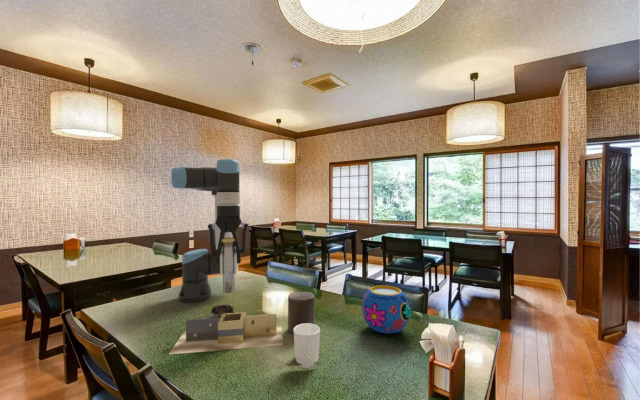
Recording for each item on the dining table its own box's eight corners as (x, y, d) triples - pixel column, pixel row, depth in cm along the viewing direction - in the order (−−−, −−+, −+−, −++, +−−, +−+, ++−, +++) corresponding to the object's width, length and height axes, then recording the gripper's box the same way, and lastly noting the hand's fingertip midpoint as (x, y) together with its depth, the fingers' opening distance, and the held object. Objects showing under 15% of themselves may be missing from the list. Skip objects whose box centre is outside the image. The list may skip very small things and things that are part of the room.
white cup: (293, 355, 90) (293, 323, 90) (319, 354, 91) (318, 322, 91) (293, 370, 83) (293, 335, 83) (321, 369, 83) (321, 334, 83)
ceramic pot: (411, 345, 96) (411, 300, 96) (358, 338, 102) (357, 295, 101) (411, 323, 113) (410, 284, 113) (365, 318, 118) (365, 281, 118)
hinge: (190, 335, 102) (189, 315, 102) (276, 329, 106) (276, 309, 106) (182, 347, 94) (182, 325, 94) (276, 339, 98) (276, 318, 98)
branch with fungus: (198, 334, 106) (198, 319, 106) (187, 330, 109) (187, 315, 109) (236, 317, 121) (235, 303, 121) (225, 313, 124) (224, 300, 124)
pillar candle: (304, 342, 99) (304, 298, 99) (282, 335, 104) (282, 293, 104) (319, 331, 107) (319, 290, 107) (298, 325, 112) (298, 286, 112)
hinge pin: (222, 289, 102) (222, 237, 102) (238, 288, 103) (238, 236, 102) (219, 294, 96) (218, 239, 96) (236, 293, 97) (235, 238, 97)
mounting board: (184, 334, 105) (184, 330, 105) (281, 327, 111) (281, 323, 111) (168, 358, 90) (168, 354, 90) (282, 348, 95) (282, 344, 95)
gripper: (199, 205, 94) (200, 277, 95) (252, 205, 97) (253, 275, 97) (205, 205, 102) (206, 271, 102) (254, 204, 104) (255, 269, 104)
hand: (229, 273), depth 100 cm, fingers closed on hinge pin, 4 cm apart
